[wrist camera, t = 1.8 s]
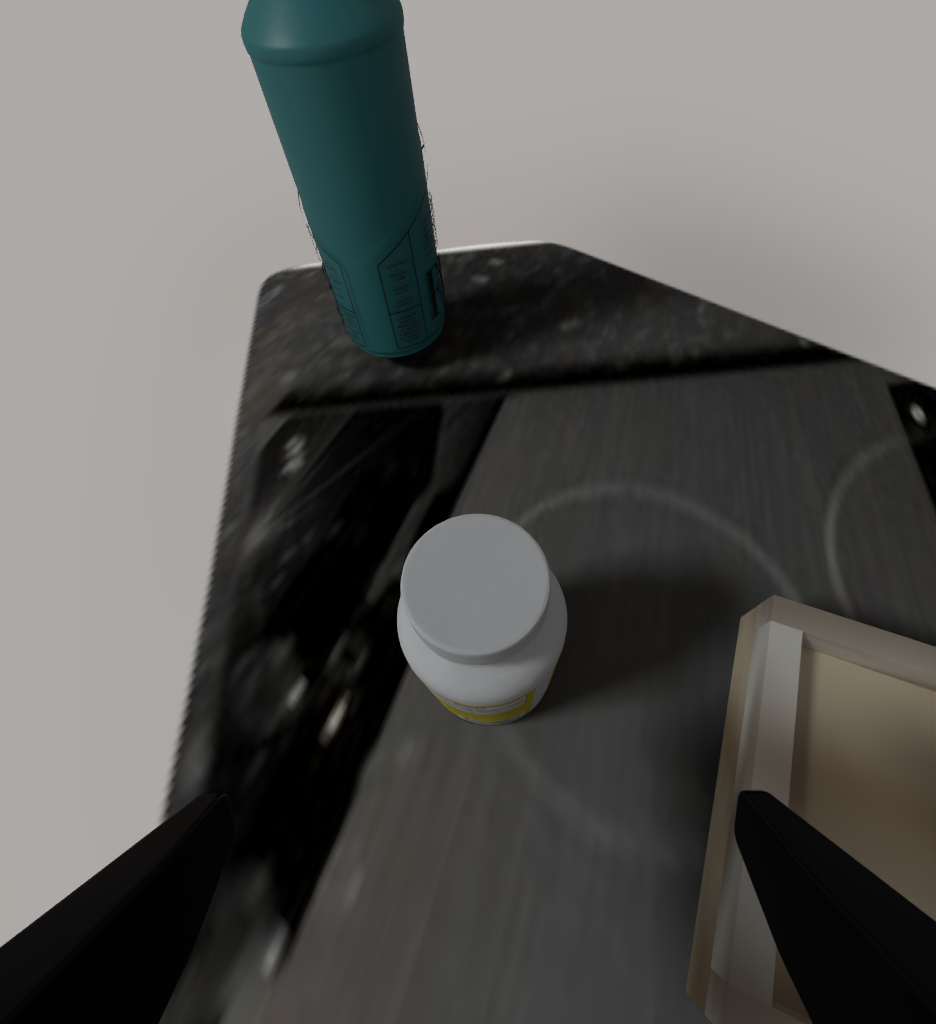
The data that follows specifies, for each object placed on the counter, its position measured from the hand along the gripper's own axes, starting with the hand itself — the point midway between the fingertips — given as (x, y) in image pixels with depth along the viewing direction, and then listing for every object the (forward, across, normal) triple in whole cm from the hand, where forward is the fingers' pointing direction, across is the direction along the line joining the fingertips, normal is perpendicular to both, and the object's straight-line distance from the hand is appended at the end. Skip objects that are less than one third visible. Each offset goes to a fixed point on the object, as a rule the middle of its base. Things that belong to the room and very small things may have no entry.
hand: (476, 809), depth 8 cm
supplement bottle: (+12, 0, +5) cm, 13 cm away
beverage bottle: (+26, +5, -10) cm, 29 cm away
